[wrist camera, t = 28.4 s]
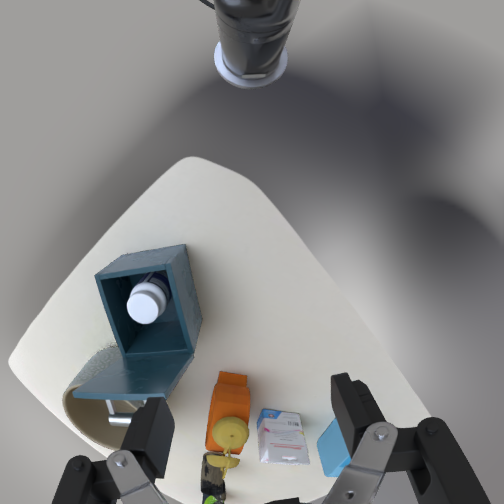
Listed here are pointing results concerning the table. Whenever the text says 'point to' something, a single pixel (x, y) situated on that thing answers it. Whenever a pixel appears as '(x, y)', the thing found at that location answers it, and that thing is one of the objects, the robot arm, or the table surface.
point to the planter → (97, 404)
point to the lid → (135, 382)
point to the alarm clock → (228, 420)
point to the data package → (333, 450)
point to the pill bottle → (149, 297)
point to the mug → (212, 479)
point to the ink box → (281, 438)
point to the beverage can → (210, 500)
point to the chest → (170, 321)
